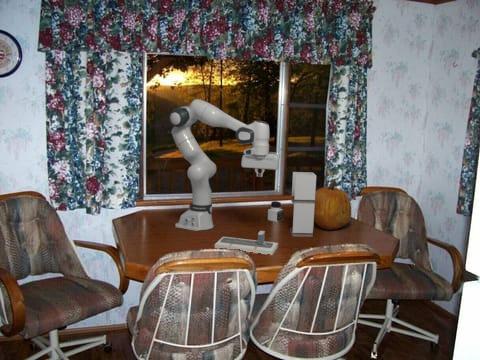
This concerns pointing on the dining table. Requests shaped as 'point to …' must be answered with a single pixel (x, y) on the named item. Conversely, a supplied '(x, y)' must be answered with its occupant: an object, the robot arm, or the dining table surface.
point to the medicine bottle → (275, 212)
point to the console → (246, 245)
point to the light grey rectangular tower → (303, 203)
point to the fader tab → (261, 238)
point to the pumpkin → (331, 207)
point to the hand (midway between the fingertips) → (259, 176)
